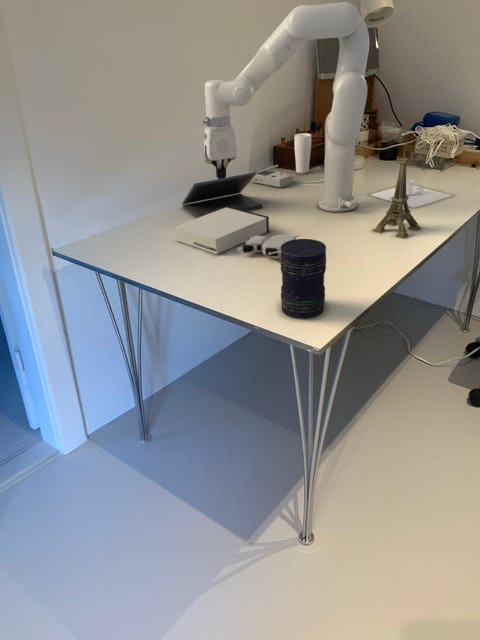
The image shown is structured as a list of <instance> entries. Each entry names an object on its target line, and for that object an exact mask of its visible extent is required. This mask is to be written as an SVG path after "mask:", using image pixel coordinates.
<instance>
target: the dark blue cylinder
mask: <svg viewBox="0 0 480 640" xmlns="http://www.w3.org/2000/svg"><path fill="white" fill-rule="evenodd" d="M326 270H327V245H326V244H325V243H324V242H322V241H320V240H317V239H313V238H312V239H311V238H296V239H295V240H290V241H287V242H285V243H284V244H282V246H281V258H280V273H281V286H280V302H281V312H282V313H283V314H284V315H285V316H287V317H289V318H292V319H297V320H311V319H314V318H317V317H319V316H321V315H322V314H323V313H324V311H325V301H326V287H325V286H326V285H325V274H326Z"/></svg>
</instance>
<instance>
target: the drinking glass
mask: <svg viewBox="0 0 480 640" xmlns="http://www.w3.org/2000/svg"><path fill="white" fill-rule="evenodd" d="M293 138H294V141H293V144H294V145H293V146H294V156H295V157H294V158H295V172H296V174H299V175H305V174H308V173H309V172H310V161H311V152H312V134H310V133H308V132H307V133H305V132H303V133H296V134H294V137H293Z"/></svg>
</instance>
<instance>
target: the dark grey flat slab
mask: <svg viewBox="0 0 480 640" xmlns="http://www.w3.org/2000/svg"><path fill="white" fill-rule="evenodd" d="M226 206H229V207H233V208H237V209H240V210H244V211H248V212H250V211H254V210H259V209H262V208H263V204H262V203H261V202H258V201H256V200H255V199H253V198H250V197H248V196H246V195H245V194H243V193H242V192H241V193H238V194H233V195H228V196H223V197H218V198H213V199H208V200H203V201H198V202H193V203H188V204H184V205H182V209H183V210H184V211H186V212H188V213H189V214H190V215H192V216H194V217H195V218H199V217H202V216H204V215H207V214H210V213H212V212H215V211H218V210H220V209H223V208H226Z"/></svg>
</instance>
